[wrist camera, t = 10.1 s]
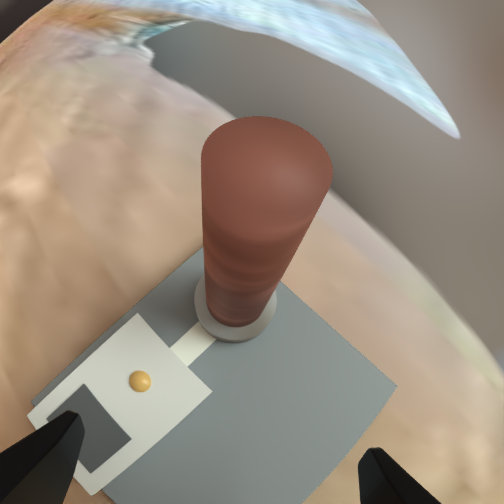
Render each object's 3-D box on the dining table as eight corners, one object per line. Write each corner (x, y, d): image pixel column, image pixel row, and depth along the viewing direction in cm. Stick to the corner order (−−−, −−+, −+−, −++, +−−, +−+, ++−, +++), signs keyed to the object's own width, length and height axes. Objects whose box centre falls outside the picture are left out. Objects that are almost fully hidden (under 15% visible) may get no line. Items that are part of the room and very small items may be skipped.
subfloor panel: (211, 567, 12) (211, 576, 11) (39, 402, 16) (29, 401, 15) (389, 387, 20) (398, 385, 19) (222, 237, 24) (223, 228, 23)
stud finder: (105, 485, 14) (90, 496, 11) (46, 415, 15) (25, 415, 13) (212, 391, 18) (212, 391, 15) (146, 323, 19) (137, 312, 17)
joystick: (210, 354, 19) (207, 266, 7) (185, 282, 20) (158, 119, 8) (284, 327, 20) (387, 211, 8) (255, 261, 22) (305, 96, 10)
